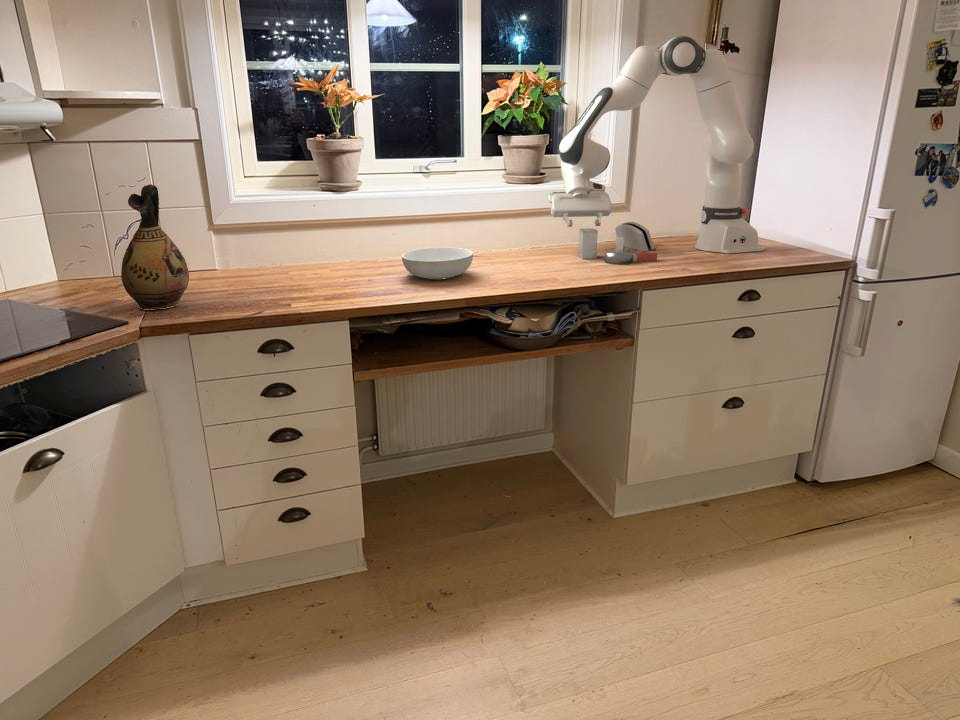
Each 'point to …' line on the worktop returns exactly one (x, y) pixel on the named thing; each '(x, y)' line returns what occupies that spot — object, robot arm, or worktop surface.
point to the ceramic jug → (152, 258)
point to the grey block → (588, 243)
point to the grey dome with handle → (627, 255)
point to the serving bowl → (437, 262)
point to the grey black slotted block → (635, 236)
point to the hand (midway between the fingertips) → (584, 225)
